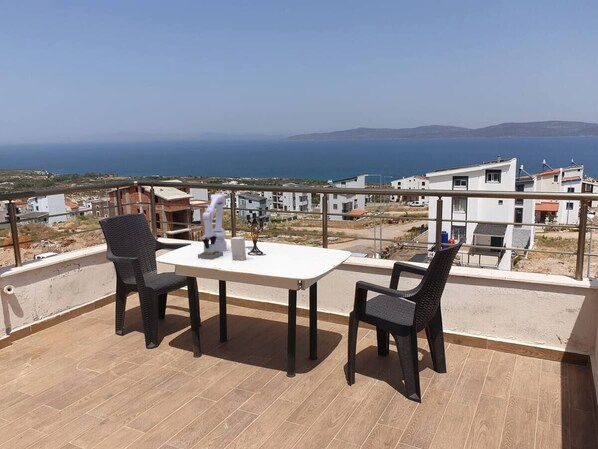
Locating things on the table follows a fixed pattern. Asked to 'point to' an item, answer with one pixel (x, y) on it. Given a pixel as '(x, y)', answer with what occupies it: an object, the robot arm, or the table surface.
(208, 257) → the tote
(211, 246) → the carton
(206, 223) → the robot arm
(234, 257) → the skincare box
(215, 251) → the walnut block
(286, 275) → the table surface
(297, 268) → the table surface
